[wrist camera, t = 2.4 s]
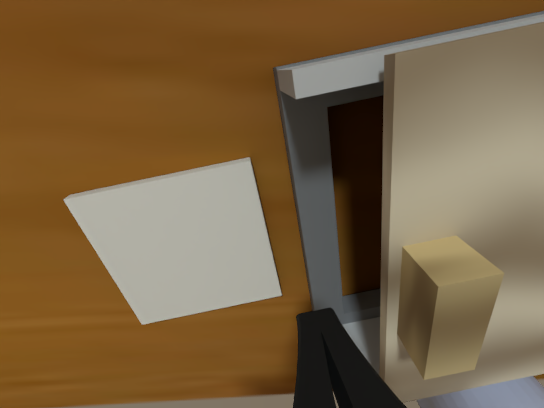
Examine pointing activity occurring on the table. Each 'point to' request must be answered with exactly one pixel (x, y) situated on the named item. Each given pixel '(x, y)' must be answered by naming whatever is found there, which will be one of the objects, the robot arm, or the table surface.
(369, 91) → the grey shallow open box
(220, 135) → the table surface
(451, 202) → the lid
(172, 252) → the tile
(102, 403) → the table surface
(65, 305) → the table surface
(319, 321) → the robot arm
